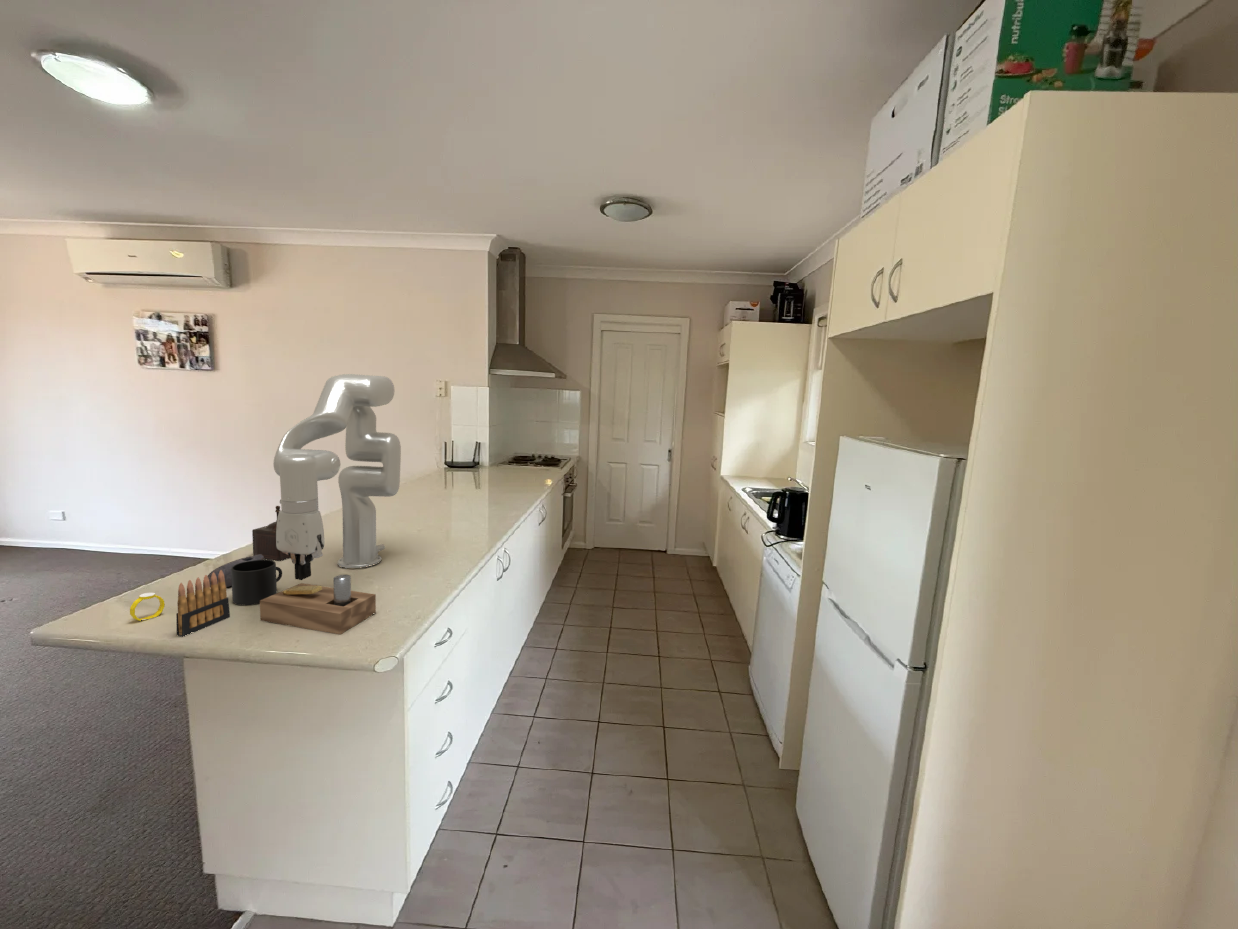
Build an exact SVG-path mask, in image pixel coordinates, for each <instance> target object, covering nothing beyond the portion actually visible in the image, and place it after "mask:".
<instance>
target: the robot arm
mask: <svg viewBox="0 0 1238 929" xmlns="http://www.w3.org/2000/svg"><path fill="white" fill-rule="evenodd" d="M394 396H395V385H394V383H393V381H392V379H391V378H390V377H387V376H383V375H382V376H381V375H368V374H366V375H365V374H353V373H346V374H345V373H344V374H338V375H334V376H331V377H329V378H328V379H327V380H326V382H325V383H324V386H323V388H322V391H321V393H320V395H319V397H318V401H317V402H316V406H315V408H314V410H313V412H312V414H311V415H310V416H308V417H306V418H304V419H303V420H301V421H300V422H297V424H294V426H292V427H291V428H289V429H288V431H287V432H285V433H284V435H283V436H282V438H281V439H280V442H279V444H278V446H277V449H276V451H275V454H274V457H273V470H274V472H275V473H276V475H277V476H279V481H280V482H279V484H280V500H279V504H280V505H281V506H280V510H281V511H279V514H278V519H277V518H276V520H277V528H276V546H277V549H278V550H280V551H282V552H283V553H285V554H287V555H289V556H290V557H291V558H290V559H291V563H292V564H293V565H294V580H298V581H303V580H305V579H307V578H310V577H311V576H312V568H311V565H312V564H311V562H313V561H314V559H319V558H321V557H323V555H324V554H323V551H322V550H323V549H324V548H325V529H324V523H323V519H322V514H321V511H320V510H319V491H318V490H319V489H318V488H319V487H318V485H319V484H318V482H319V481H320V482H321V481H325V480H330V479H332V478H334V477H335V476H336V475H337V474H338V477H337V478H338V479H337V480H338V481H337V482H338V487H339V491H340V496H341V507H342V508H341V510H342V514H341V515H342V557H340V558H338V560H337V566H338V565H339V566H338V567H340V566H341V567H340V568H342V567H345V568H344V569H347V568H360V567H366V566H369V565H373V564H377V563H378V562H380V561H381V559H382V556H381V555H380V554H378V553H379V552H380V551H383V550H384V549H385V548H386V546H385V544H384V543H381V544H378V545H377V509H376V505H375V504H374V502H373V501H372V499H371V498H370V497H380V498H381V497H384V498H385V497H386V498H387V497H393V496H396V495H397V494H398V492H399V489H400V482H401V462H402V461H401V460H402V459H401V458H402V457H401V456H402V448H401V447H402V446H401V441H400V438H399V437H398V436H397V435H396V434H395V433H391V432H379V431H377V415H376V413H375V411H374V410H373V408H374V407H375V408H377V407H381V406H384V405H389V404H390V403H391V402H392V400H393V398H394ZM344 430H345V443H344V444H345V445H344V446H345V454H346V457H347V458H348V459H349V460H351V461H352V462H364V463H366V462H367V463H381V464H382V466H372V465H371V466H370V465H350V466H346V467H344V468H342V469H341V471H340V468H341V459H340V457H339V456H338V454H336V453H335V452H334V451H331V450H324V449H305V448H303V447H305V446H306V445H308V444H309V443H312V442H314V441H316V440H320V439H324V438H327V437H330V436H333V435H336V434H338V433H342V431H344ZM339 471H340V472H339ZM382 560H383V559H382ZM381 562H382V561H381ZM381 562H380V563H381ZM377 565H378V564H377ZM360 569H361V568H360Z"/></svg>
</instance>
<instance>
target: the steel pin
mask: <svg viewBox="0 0 1238 929" xmlns="http://www.w3.org/2000/svg"><path fill="white" fill-rule="evenodd" d="M351 583H352V582H351V575H349V574H339V575H335V576H334V577H333V588H334V605H337V606H346V605H348V604H349V603H351V591H352V588H351V587H352V585H351Z"/></svg>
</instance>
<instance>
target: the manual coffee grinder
mask: <svg viewBox="0 0 1238 929" xmlns="http://www.w3.org/2000/svg"><path fill="white" fill-rule="evenodd" d="M279 511H281V506H280V505H275V513H276V520H275V521H273V522H271V523H269V524H267V526H262V527H258V528H255V529H252V531H251V532H252V536H251V537H252V556H254V555H259V554H262V555H263V556H264V560H266V559H267V560H272V561H274V560H275V562H282V561H285V560H287V559H286V558H288V559H291V557H290V556H289V555H287V554H285V553H283V552H282V551H280V550H278V549H277V546H276V528H277V519H278V514H279ZM284 559H285V560H284ZM281 560H282V561H281Z"/></svg>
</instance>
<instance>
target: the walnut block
mask: <svg viewBox="0 0 1238 929" xmlns="http://www.w3.org/2000/svg"><path fill="white" fill-rule="evenodd" d="M294 586H318V585H317V584H309V583H303V582H301V583H298V584H296V585H294ZM294 586H292V587H294ZM321 586H322V590H320V591H318V592H315V593H313V594H289V595H284V594H283V593H282V592H283V591H284V590H282V591H280V592H279V591H278V592H277V594H274V595H272V596H269V597H267V598H265V599H262V600H260V603H259V616H260V621H262V622H267V623H273V624H279V625H284V626H290V627H296V628H302V629H307V630H313V631H319V632H325V633H330V634H336V635H342V634H343V633H346V631H349V630H351V629H352V628H354V627H355V626H356V625H359V624H360V623H362V622H364V621H365V620H366V619H368V617H369V616H370V617H372V616H373V615H372V614H373V613H375V614H376V612H377V611H376V610H377V607H376V606H377V605H376V603H377V602H376V601H377V600H376V599H377V596H376V593H369V592H362V591H355V590H351V603H349V604H348V605H346V606H337V605H334V587H330V586H323V585H321ZM287 589H288V588H287ZM287 589H285V590H287ZM371 615H372V616H371ZM370 617H369V618H370ZM364 619H365V620H364ZM363 620H364V621H363Z"/></svg>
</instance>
